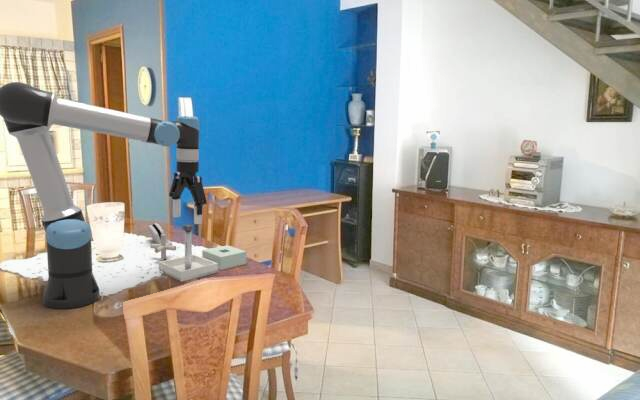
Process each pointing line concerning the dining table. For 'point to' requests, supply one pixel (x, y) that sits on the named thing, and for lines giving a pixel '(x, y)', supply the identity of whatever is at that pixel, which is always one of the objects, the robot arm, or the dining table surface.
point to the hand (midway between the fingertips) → (187, 220)
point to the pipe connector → (163, 246)
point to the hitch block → (225, 256)
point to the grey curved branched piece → (156, 233)
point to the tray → (178, 272)
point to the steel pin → (188, 245)
